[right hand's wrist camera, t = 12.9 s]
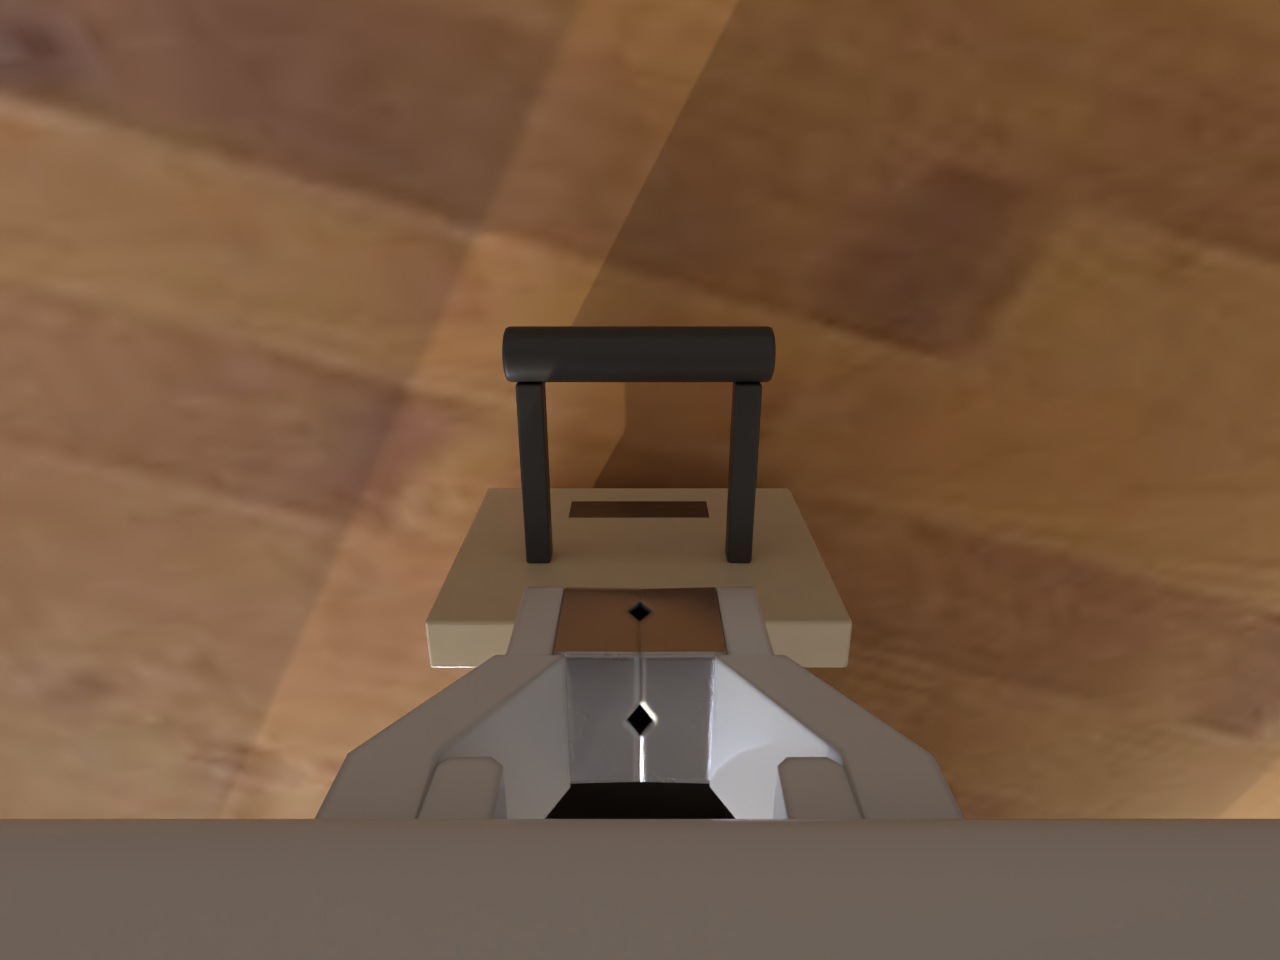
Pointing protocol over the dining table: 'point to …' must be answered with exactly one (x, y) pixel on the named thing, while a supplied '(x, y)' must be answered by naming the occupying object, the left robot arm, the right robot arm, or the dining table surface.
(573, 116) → the dining table surface
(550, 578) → the drawer
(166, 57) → the dining table surface
